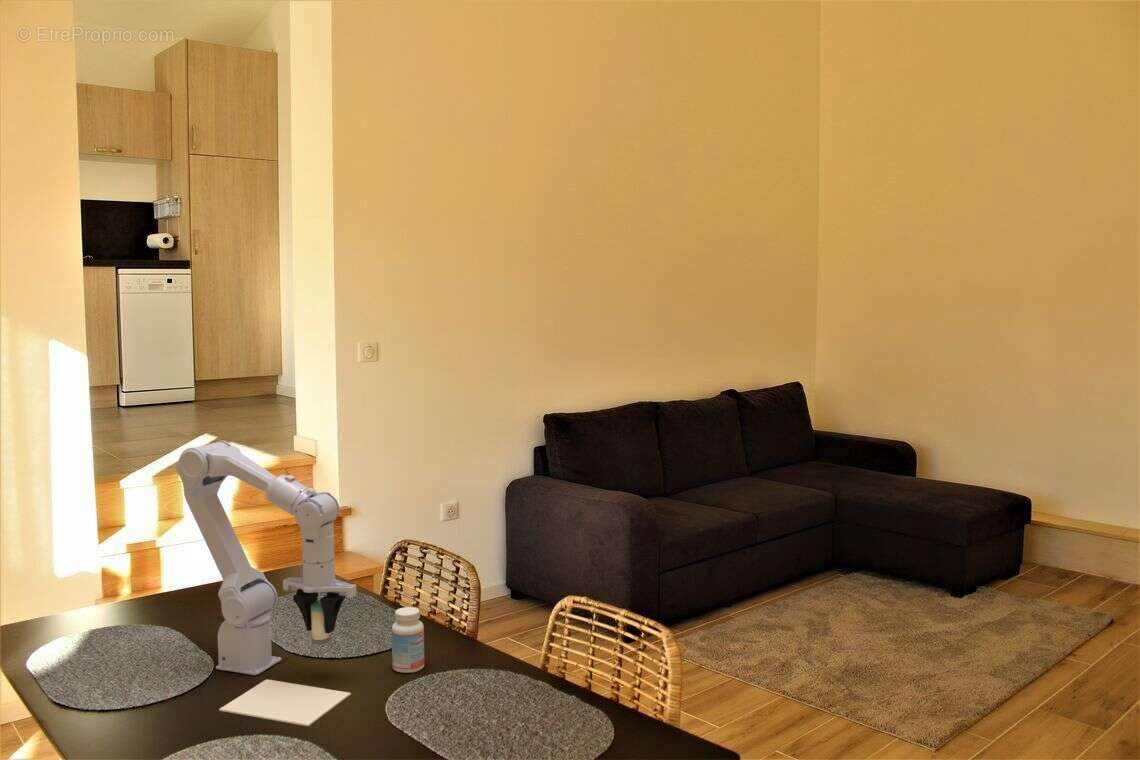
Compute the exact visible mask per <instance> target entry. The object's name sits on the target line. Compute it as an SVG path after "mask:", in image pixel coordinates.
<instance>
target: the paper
mask: <svg viewBox="0 0 1140 760" xmlns="http://www.w3.org/2000/svg"><path fill="white" fill-rule="evenodd" d="M351 695H352V693H351V692H349V691H341V690H334V689H329V688H324V687H317V686H312V685H311V686H310V685H305V684H298V683H291V682H286V681H285V682H284V681H279V680H273V679H265V680H263V681H261V682H259V684H257V685H255V686H254V687H252V688H250V689H249V690H246V692H244V693H243V694H241V695H239V696H238V697H236V698H235V699H233V700H232V701H230V702H228V703H227V704H225V705H224V706H221V707H220V708H219V709H218V710H219V712H223V713H231V714H237V715H242V716H249V717H253V718H258V719H264V720H268V721H269V720H270V721H274V722H275V721H276V722H281V723H287V724H293V725H298V726H304V727H310V726H311V725H312V724H314V723H315V722H316V721H317V720H319V719H320V718H322V717H323V716H324V715H326V714H327V713H328V712H329V711H331V710H332V709H334V708H335V707H336V706H337V705H339V704H340V703H342V702H343V701H344V700H345V699H347V698H348V697H350V696H351Z"/></svg>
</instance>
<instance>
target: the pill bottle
mask: <svg viewBox="0 0 1140 760" xmlns="http://www.w3.org/2000/svg"><path fill="white" fill-rule="evenodd" d="M420 617H421V613H420V609H419V608H417V607H413V606H405V607H401V608H397V609H396V610H395V613H394V618H395V622H394V623H393V624H392V625H391V655H392V656H391V659H392V664H391V665H392V669H393V670H394V671H395V672H396V673H403V674H404V673H407V674H408V673H409V674H411V673H416V672H419V671H421V670H422V669H423V668H424V667H425V628H424V623H423V622H422V621H421V620H419V619H420Z"/></svg>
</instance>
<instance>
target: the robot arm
mask: <svg viewBox="0 0 1140 760" xmlns="http://www.w3.org/2000/svg"><path fill="white" fill-rule="evenodd" d="M175 469H176V471H177V473H178V476H179V477H180V480H181V482H182V486H183V494H184V498H185V501H186V504H187V505H188V508H189V509H190V512H191V514H192V516H193V518H194V521H195V523H196V525H197V526H198V529H199V531H200V533H201V536H202V537H203V540H204V542H205V544H206V546H207V548H208V550H209V552H210V555H211V556H212V560H214V564H215V565H216V567H217V569H218V571H219V574H220V575H221V578H222V583H221V586H220V587H219V591H218V592H217V595H218V598H219V601H220V605H221V613H222V616H223V618H224V621H222V623H221V625H219V628H218V631H217V650H218V651H217V653H218V655H217V656H218V665H216V666H215V669H216V670H220V671H227V672H234V673H239V674H244V675H251V676H257V675H259V674H261V673H263V672H264V671H266V670H267V669H270V668H271V667H273V666H274V665H276V664H278V663H279V662H281V661H282V657H280V656H273V655H272V633H271V632H272V629H271V628H272V627H271V617H272V616H273V612H272V610H273V609H274V608H275V607H276V606H277V604H278V601H279V598H278V592H277V590H276V588H275V586H274V585H273V584H272V583H271V582H269V580H268V579H267V578H266V576H265V573H264V572H263V571H261V570H259V569H257V568H254V567H252V566H251V563H250V561H249V560H248V558H247V555H246V553H245V551H244V548H243V546H242V544H241V542H240V540H239V538H238V536H237V534H236V532H235V529H234V527H233V525H232V523H231V521H230V519H229V517H228V515H227V512H226V511H225V508H224V506H223V505H222V502H221V500H220V497H219V496H218V493H219V490H220V489H221V485H222V484H223V482H225V480H226V479H227V477H228V476H233V477H235V478H237V479H238V480H240V481H242V482H244V483H246V484H248V485H250V486H252V487H254V488H256V489H258V490H260V491H262V492H264V493H265V496H266V499H267V501H268V502H269V503H271V504H272V505H274V506H275V507H277V508H279V509H281V510H282V511H285V512H286V513H288V514H289V515H291V516H293V517H294V520H295V522H296V524H297V526H298V527H299V530H300V536H301V544H302V546H301V547H302V548H301V549H302V577H290V576H289V577H287V578H284V579H283V580H282V589H283V591H291V590H293V591H296V593H295V594H294V595H293V597H292V600H293V602H294V603H295V605H296V606H297V607H298V610H299V612H300V613H301V617H302V618H303V622H304V624H305V625H304V626H305V628H306V629H305V630H306V631H307V632H312V629H311V603H312V602H314V601H318V597H319V594H325V596H323V597H321V598H319V600H320V602H321V605H322V609H323V613H324V627H325V633H330V634H331V633H332V632H333V631H335V628H336V623H337V619H338V614H339V612H340V609H341V608H342V605H343V602H344V600H345V598H347V599H352V598H354V597H356V595H357V584H355V583H354V584H353V583H352V584H351V583H348V582H345V581H341V580H339V579H336V571H335V570H336V567H335V566H336V565H335V564H336V563H335V560H336V559H335V530H334V529H335V527H334V526H335V525H334V524H335V523H334V521H335V520H336V519H337V518H338V516H339V514H340V505H339V502H338V500H337V498H336V497H335V496H334V495H332V494H331V493H330V492H328V491H320V492H317V491H316V490H315V489H314V488H313V487H310V488H309V487H308V486H306V485H304V484H302V483H300V482H298V481H297V480H296V476H293V475H292V474H289V475H286V474H280V475H278V476H275V474H273V473H271V472H269V470H267V469H265V468H264V467H262V466H260V465H259V464H258V463H257V462H255V461H254V460H252V459H250V458H249V457H248V456H246V455H244V454H243V453H242V452H241V449H240V447H238V446H236V445H232V444H231V443H230V442H228V441H227V440H222V439H221V440H217V441H215V442H213V443H208V444H203V445H199V446H196V447H188V448H186V449H184V450H183V451H182V452H181V454H180V456H179V459H178V461H177V464H176V467H175ZM242 587H243V588H242Z"/></svg>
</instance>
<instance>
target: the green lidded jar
mask: <svg viewBox="0 0 1140 760" xmlns="http://www.w3.org/2000/svg"><path fill="white" fill-rule="evenodd" d="M311 629H312V630H311V643H312V644H316V645H323V644H327V643H330V642H331V632H330V633H325V627H324V613H323V609H322V605H321V602H320V599H319V600H317V601H314V602H312V603H311Z"/></svg>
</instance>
